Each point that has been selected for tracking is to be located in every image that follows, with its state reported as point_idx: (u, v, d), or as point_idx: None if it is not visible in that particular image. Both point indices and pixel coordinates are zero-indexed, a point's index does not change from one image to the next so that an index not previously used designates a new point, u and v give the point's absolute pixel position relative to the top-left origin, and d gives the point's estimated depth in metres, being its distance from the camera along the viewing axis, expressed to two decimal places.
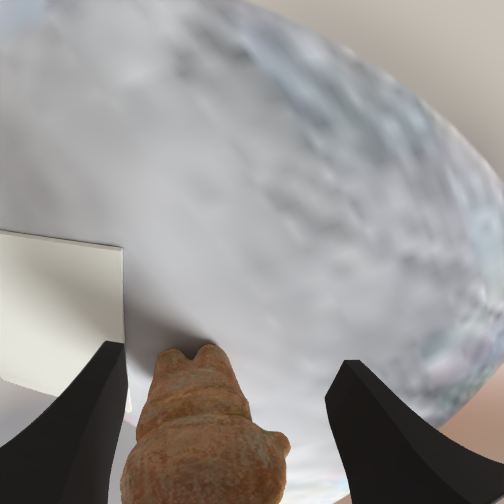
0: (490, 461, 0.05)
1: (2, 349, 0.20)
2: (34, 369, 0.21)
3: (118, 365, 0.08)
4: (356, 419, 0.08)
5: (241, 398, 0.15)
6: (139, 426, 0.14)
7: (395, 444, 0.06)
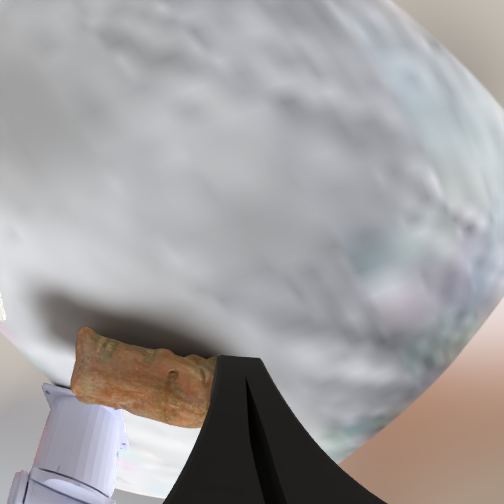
0: None
1: None
2: None
3: None
4: None
5: (183, 410, 0.17)
6: None
7: (266, 460, 0.06)
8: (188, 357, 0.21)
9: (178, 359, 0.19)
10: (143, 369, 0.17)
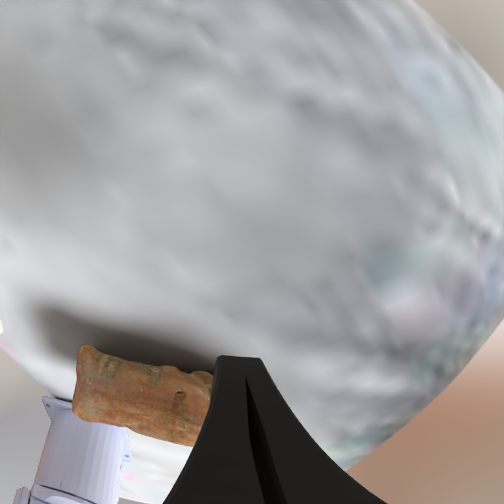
0: None
1: None
2: None
3: None
4: None
5: (191, 432, 0.16)
6: None
7: (266, 460, 0.06)
8: (195, 374, 0.19)
9: (185, 379, 0.17)
10: (148, 390, 0.16)
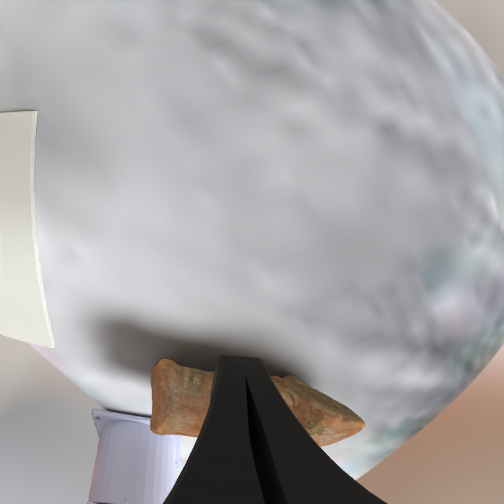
0: None
1: None
2: None
3: None
4: None
5: None
6: None
7: (266, 460, 0.06)
8: None
9: None
10: None
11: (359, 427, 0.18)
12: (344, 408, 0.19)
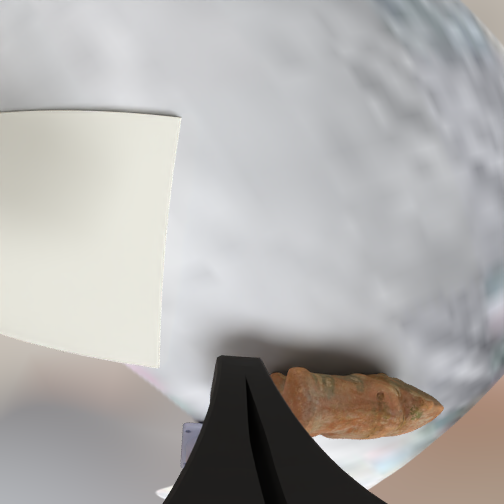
0: None
1: None
2: (35, 310, 0.17)
3: None
4: None
5: (389, 424, 0.18)
6: None
7: (266, 460, 0.06)
8: (372, 377, 0.22)
9: (380, 381, 0.20)
10: (359, 396, 0.18)
11: (441, 411, 0.20)
12: (430, 396, 0.20)
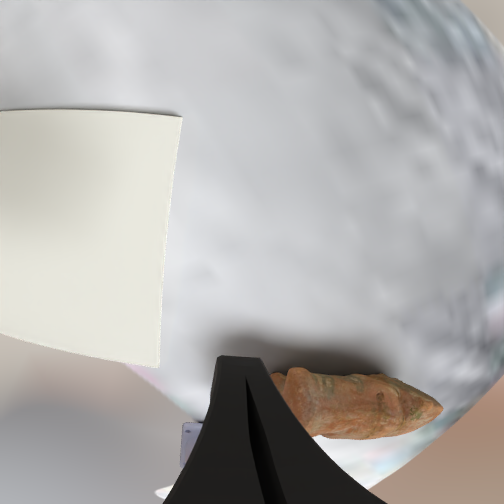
0: None
1: None
2: (35, 309, 0.17)
3: None
4: None
5: (388, 424, 0.18)
6: None
7: (266, 460, 0.06)
8: (372, 378, 0.22)
9: (380, 382, 0.20)
10: (359, 397, 0.18)
11: (440, 411, 0.20)
12: (430, 396, 0.20)
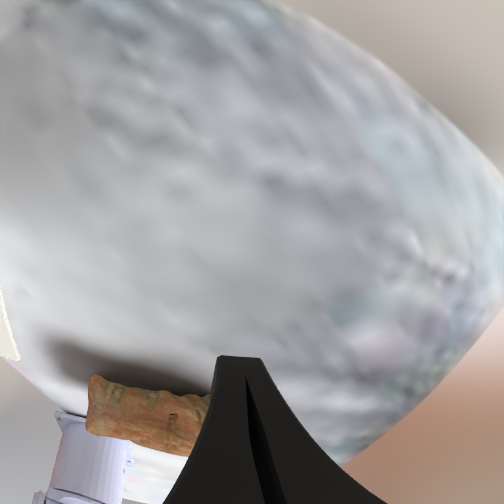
0: None
1: None
2: None
3: None
4: None
5: (182, 446, 0.19)
6: None
7: (266, 460, 0.06)
8: (186, 397, 0.23)
9: (177, 403, 0.20)
10: (147, 412, 0.19)
11: None
12: None
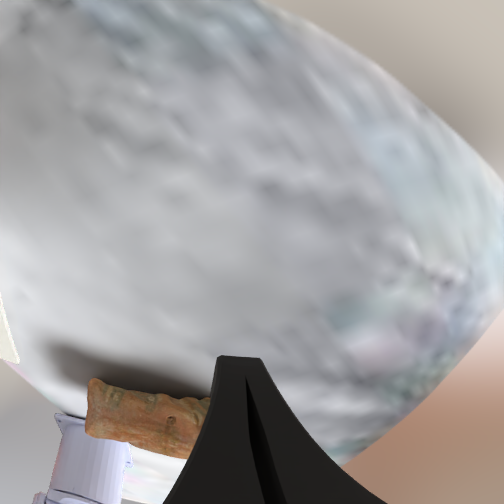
0: None
1: None
2: None
3: None
4: None
5: (180, 449, 0.19)
6: None
7: (266, 460, 0.06)
8: (184, 400, 0.23)
9: (175, 406, 0.21)
10: (146, 415, 0.19)
11: None
12: None
